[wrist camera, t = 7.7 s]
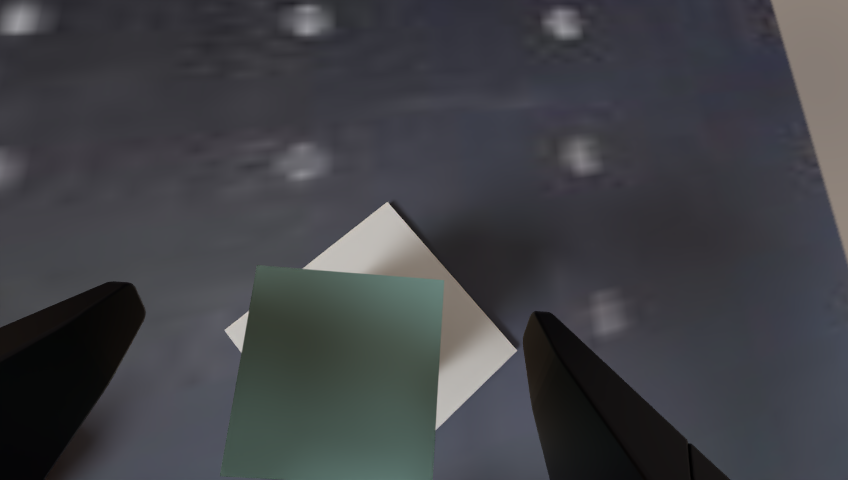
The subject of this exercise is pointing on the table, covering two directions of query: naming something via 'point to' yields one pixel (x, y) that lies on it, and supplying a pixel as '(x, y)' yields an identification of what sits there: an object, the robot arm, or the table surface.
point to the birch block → (337, 378)
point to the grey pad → (461, 317)
